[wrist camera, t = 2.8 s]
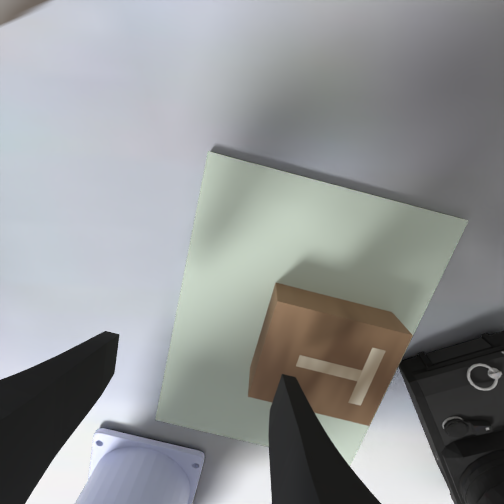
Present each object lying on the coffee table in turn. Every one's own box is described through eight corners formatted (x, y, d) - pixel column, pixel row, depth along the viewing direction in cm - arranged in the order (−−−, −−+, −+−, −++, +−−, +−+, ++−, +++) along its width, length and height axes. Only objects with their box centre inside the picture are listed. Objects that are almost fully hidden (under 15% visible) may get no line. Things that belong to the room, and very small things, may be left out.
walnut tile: (249, 367, 18) (355, 393, 18) (247, 396, 15) (369, 426, 16) (275, 282, 16) (392, 311, 16) (277, 301, 14) (413, 335, 14)
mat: (348, 460, 20) (349, 466, 20) (157, 415, 20) (155, 420, 19) (463, 219, 15) (468, 220, 15) (209, 151, 15) (207, 151, 14)
